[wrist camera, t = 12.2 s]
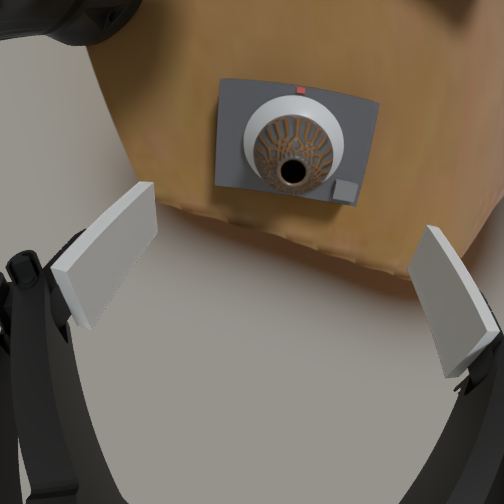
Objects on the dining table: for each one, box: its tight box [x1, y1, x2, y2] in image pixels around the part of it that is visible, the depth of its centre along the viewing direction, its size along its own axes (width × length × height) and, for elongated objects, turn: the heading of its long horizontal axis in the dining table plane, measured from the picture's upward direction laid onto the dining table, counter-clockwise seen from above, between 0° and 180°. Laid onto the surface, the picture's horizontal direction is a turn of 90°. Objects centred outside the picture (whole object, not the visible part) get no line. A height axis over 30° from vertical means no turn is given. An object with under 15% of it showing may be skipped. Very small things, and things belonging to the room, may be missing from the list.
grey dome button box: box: [215, 79, 379, 207], centre depth 28 cm, size 16×12×5 cm
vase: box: [253, 114, 333, 194], centre depth 23 cm, size 7×7×9 cm
